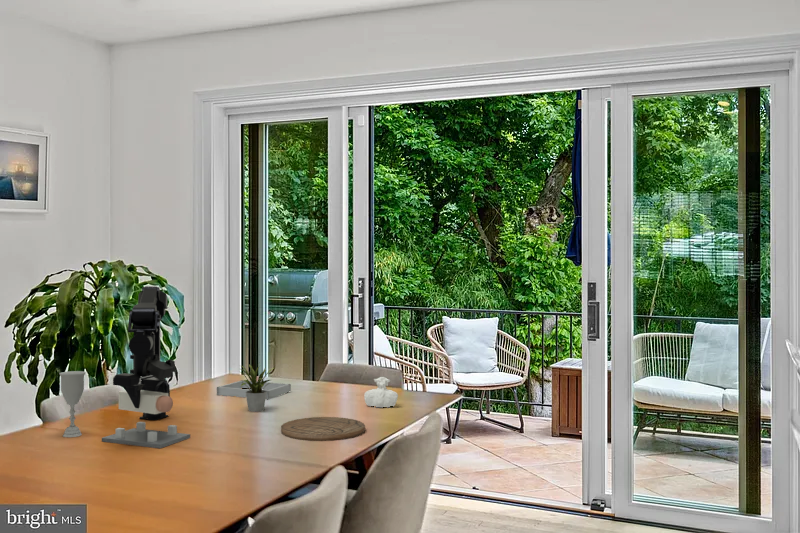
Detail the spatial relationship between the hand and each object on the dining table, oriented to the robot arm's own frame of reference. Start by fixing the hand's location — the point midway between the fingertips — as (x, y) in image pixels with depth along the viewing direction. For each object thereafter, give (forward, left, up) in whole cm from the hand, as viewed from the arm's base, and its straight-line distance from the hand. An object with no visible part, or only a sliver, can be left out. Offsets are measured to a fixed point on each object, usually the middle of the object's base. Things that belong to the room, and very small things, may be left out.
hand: (143, 406), depth 210 cm
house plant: (+6, +47, -10) cm, 48 cm away
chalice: (-22, -4, -10) cm, 24 cm away
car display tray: (-10, +74, -9) cm, 75 cm away
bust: (+44, +70, -10) cm, 83 cm away
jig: (+1, 0, -9) cm, 9 cm away
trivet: (+42, +29, -10) cm, 52 cm away
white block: (0, 0, -1) cm, 1 cm away
